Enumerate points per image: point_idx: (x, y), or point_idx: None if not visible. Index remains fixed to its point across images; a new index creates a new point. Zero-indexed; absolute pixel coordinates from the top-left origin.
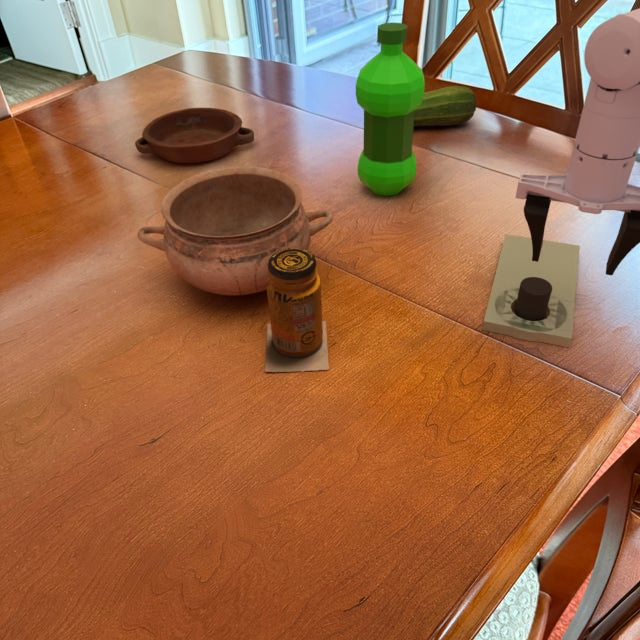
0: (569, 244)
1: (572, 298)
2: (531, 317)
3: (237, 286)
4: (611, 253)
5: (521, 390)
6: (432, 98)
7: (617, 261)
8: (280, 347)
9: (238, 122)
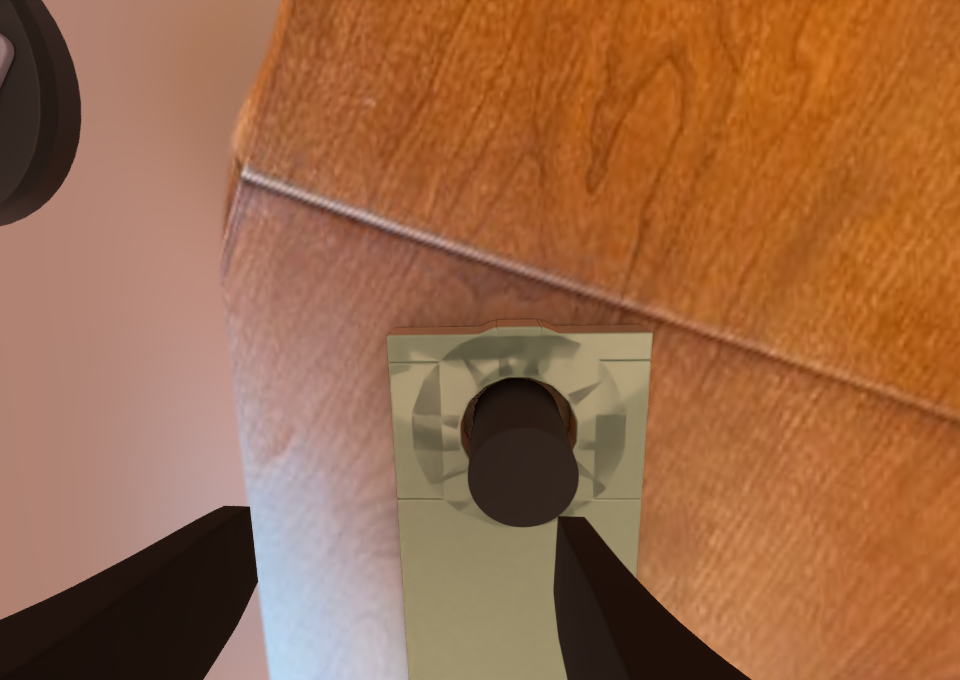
0: None
1: (405, 513)
2: (511, 391)
3: None
4: (209, 623)
5: (501, 98)
6: None
7: (154, 549)
8: None
9: None
